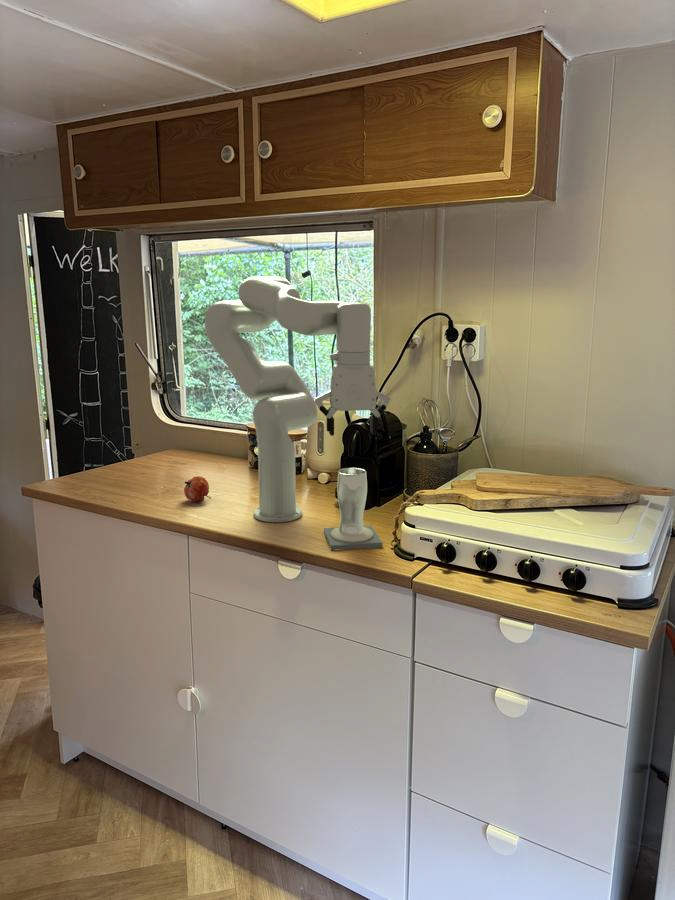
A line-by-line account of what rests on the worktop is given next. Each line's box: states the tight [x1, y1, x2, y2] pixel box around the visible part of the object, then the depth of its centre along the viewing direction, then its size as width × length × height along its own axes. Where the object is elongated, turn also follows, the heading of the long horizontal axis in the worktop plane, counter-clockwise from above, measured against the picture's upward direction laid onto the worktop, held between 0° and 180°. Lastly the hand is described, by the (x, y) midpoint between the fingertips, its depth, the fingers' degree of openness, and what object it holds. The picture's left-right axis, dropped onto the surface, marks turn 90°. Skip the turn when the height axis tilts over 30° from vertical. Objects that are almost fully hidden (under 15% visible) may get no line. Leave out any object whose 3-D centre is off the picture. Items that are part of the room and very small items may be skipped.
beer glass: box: [336, 467, 368, 537], centre depth 165 cm, size 7×7×15 cm
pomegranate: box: [183, 476, 212, 504], centre depth 196 cm, size 7×7×10 cm
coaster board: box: [323, 525, 383, 551], centre depth 166 cm, size 12×12×2 cm
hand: (352, 433), depth 161 cm, fingers open, 9 cm apart
